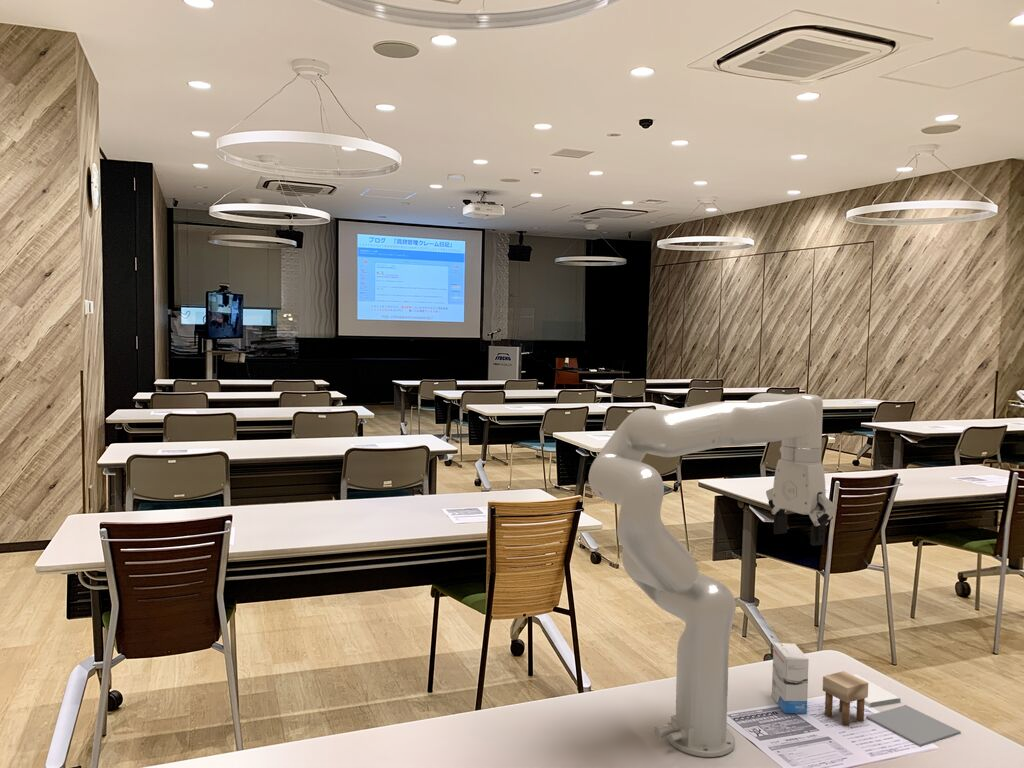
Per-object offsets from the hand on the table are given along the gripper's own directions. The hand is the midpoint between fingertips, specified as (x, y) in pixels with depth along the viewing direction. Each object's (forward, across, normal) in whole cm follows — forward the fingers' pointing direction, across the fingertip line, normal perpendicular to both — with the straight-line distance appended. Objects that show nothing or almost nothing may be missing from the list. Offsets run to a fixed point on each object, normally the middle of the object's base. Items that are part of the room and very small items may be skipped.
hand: (798, 538), depth 153 cm
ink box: (+37, -4, +3) cm, 37 cm away
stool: (+37, +5, +9) cm, 38 cm away
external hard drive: (+38, -2, +23) cm, 44 cm away
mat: (+37, +13, +19) cm, 43 cm away
